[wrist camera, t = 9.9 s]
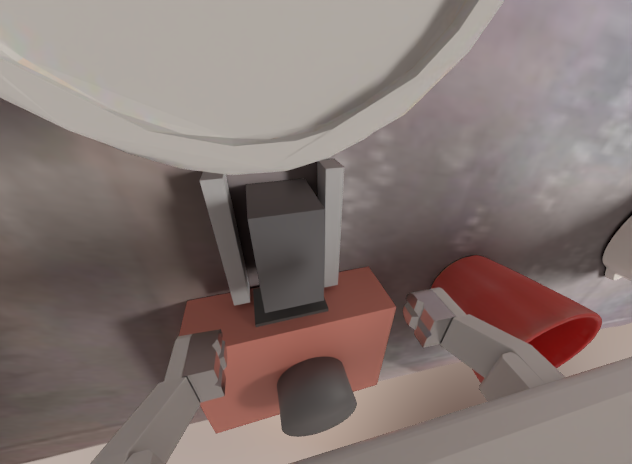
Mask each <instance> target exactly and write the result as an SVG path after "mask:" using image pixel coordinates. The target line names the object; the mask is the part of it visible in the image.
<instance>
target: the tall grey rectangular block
mask: <svg viewBox="0 0 632 464" xmlns="http://www.w3.org/2000/svg"><path fill="white" fill-rule="evenodd" d="M246 200H247V219H248V224H249V230H250V235H251V241H252V246H253V251H254V257H255V262H256V268H257V273H258V278H259V284H260V289H261V294H262V300H263V305H264V311H265V313H268V312H272V311H277V310H282V309H286V308H291V307H296V306H300V305H305V304H310V303H314V302H319V301H324V237H325V209H324V207H323V206H322V204H321V203H320V201H319V200H318V198H317V196H316V195H315V193H314V192H313V190H312V189H311V187H310V186H309V184H308V183H307V181H306V180H305V178H304V179H294V180H285V181H275V182H265V183H255V184H246Z"/></svg>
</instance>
